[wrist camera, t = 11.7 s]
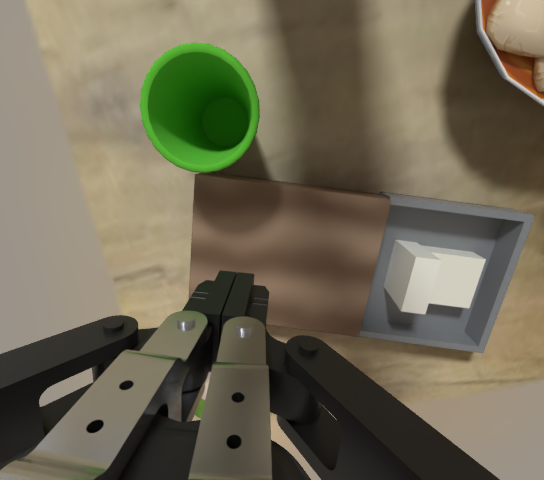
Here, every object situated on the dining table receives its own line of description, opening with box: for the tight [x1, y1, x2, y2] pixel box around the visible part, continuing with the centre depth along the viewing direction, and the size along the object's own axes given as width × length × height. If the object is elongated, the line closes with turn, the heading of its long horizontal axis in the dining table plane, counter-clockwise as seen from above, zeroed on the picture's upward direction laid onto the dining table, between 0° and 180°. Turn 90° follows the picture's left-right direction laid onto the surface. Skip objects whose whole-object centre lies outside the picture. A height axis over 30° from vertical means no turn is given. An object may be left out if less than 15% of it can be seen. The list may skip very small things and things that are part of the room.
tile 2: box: [421, 245, 486, 308], centre depth 36 cm, size 6×6×2 cm
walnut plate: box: [189, 172, 391, 337], centre depth 35 cm, size 16×20×4 cm
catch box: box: [359, 192, 535, 353], centre depth 36 cm, size 17×15×4 cm
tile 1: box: [384, 240, 442, 314], centre depth 34 cm, size 6×6×2 cm
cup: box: [140, 43, 260, 173], centre depth 28 cm, size 9×9×11 cm
